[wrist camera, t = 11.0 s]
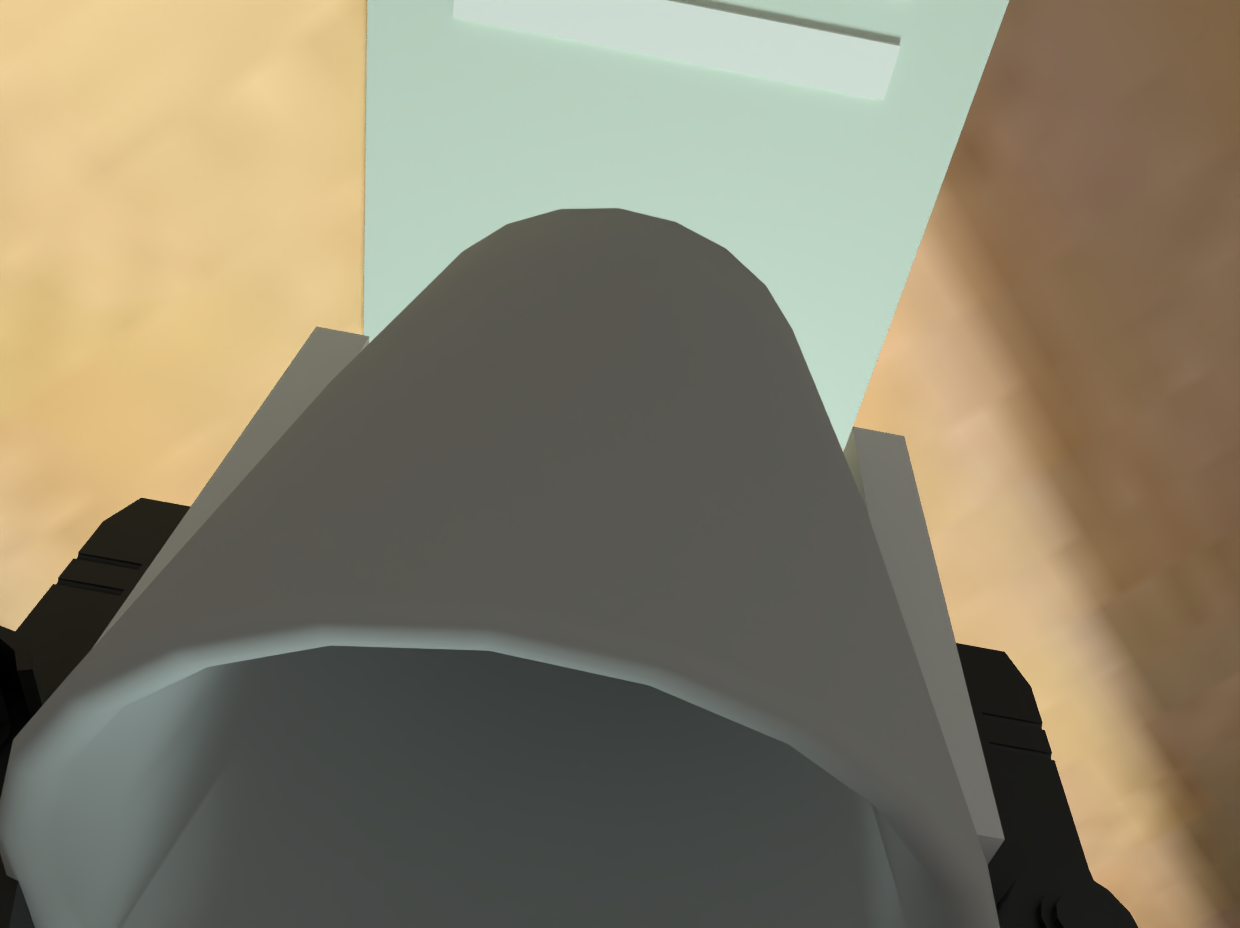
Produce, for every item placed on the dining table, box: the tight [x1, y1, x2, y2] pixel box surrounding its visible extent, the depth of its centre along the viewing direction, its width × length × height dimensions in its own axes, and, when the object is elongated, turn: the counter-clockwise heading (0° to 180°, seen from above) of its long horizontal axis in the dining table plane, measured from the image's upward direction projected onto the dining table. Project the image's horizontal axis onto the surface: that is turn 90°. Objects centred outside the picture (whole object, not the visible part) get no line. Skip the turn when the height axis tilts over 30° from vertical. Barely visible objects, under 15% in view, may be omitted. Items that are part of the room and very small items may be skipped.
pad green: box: [364, 0, 1009, 450], centre depth 25 cm, size 14×14×1 cm
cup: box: [0, 208, 1000, 928], centre depth 12 cm, size 8×10×8 cm
